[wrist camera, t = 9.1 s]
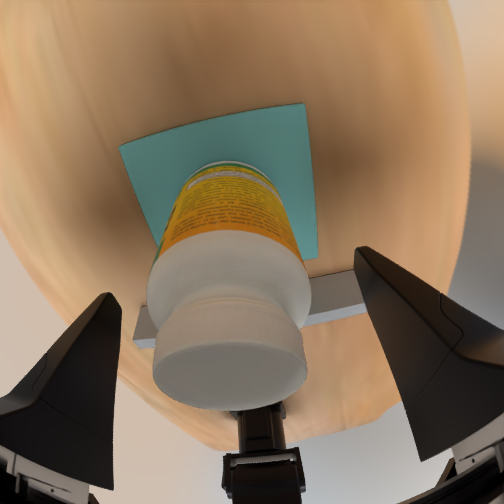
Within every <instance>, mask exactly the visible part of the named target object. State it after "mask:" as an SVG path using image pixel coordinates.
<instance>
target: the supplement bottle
mask: <svg viewBox="0 0 504 504" xmlns="http://www.w3.org/2000/svg"><path fill="white" fill-rule="evenodd" d="M146 301H147V307H148V311H149V314H150V316H151V319H152V321H153V323H154V324H155V326H156V328H157V329H158V330H159V331H158V333H157V336H156V341H155V352H154V360H153V379H154V381H155V383H156V385H157V386H158V388H159V389H160V390H161V391H162V392H163V393H165V394H166V395H168V396H169V397H171V398H173V399H174V400H177V401H179V402H181V403H184V404H187V405H190V406H193V407H197V408H202V409H209V410H219V411H239V410H248V409H255V408H259V407H263V406H267V405H270V404H273V403H277V402H279V401H281V400H284V399H285V398H287V397H289V396H291V395H292V394H293V393H295V392H296V391H297V390H298V389H299V388H300V387H301V386H302V385H303V383H304V382H305V380H306V377H307V363H306V358H305V353H304V348H303V339H302V334H301V332H300V329H301V328H302V326H303V324H304V322H305V321H306V318H307V316H308V313H309V310H310V305H311V286H310V281H309V278H308V274H307V271H306V268H305V265H304V263H303V260H302V257H301V254H300V251H299V248H298V245H297V242H296V240H295V237H294V234H293V231H292V228H291V225H290V222H289V220H288V217H287V214H286V211H285V208H284V206H283V203H282V200H281V197H280V195H279V192H278V190H277V188H276V187H275V185H274V184H273V182H272V181H271V180H270V179H269V178H268V177H267V176H266V175H265V174H264V173H262V172H261V171H260V170H258V169H257V168H255V167H253V166H251V165H248V164H246V163H242V162H236V161H221V162H215V163H211V164H208V165H206V166H204V167H202V168H200V169H199V170H197V171H196V172H195V173H193V174H192V175H191V176H190V177H189V178H188V179H187V180H186V182H185V183H184V184H183V186H182V187H181V189H180V191H179V193H178V196H177V198H176V201H175V203H174V205H173V209H172V211H171V214H170V216H169V219H168V221H167V225H166V228H165V231H164V233H163V236H162V239H161V242H160V245H159V247H158V250H157V253H156V256H155V259H154V262H153V265H152V268H151V271H150V274H149V278H148V283H147V289H146Z"/></svg>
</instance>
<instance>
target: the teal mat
mask: <svg viewBox="0 0 504 504" xmlns="http://www.w3.org/2000/svg"><path fill="white" fill-rule="evenodd" d="M119 150H120V153H121V156H122V159H123V162H124V165H125V167H126V170H127V173H128V176H129V178H130V181H131V184H132V186H133V189H134V192H135V194H136V197H137V199H138V202H139V204H140V207H141V209H142V212H143V214H144V217H145V219H146V221H147V224H148V226H149V229H150V231H151V233H152V236H153V238H154V240H155V242H156V245H157V247H159V245H160V242H161V239H162V236H163V233H164V231H165V228H166V225H167V221H168V219H169V216H170V214H171V211H172V209H173V205H174V203H175V201H176V198H177V196H178V193H179V191H180V189H181V187H182V186H183V184H184V183H185V182H186V180H187V179H188V178H189V177H190V176H191V175H192V174H193V173H195V172H196V171H197V170H199V169H200V168H202V167H204V166H206V165H208V164H211V163H215V162H221V161H236V162H242V163H246V164H248V165H251V166H253V167H255V168H257V169H258V170H260V171H261V172H262V173H264V174H265V175H266V176H267V177H268V178H269V179H270V180H271V181H272V182H273V184H274V185H275V187H276V188H277V190H278V192H279V195H280V197H281V200H282V203H283V206H284V208H285V211H286V214H287V217H288V220H289V222H290V225H291V228H292V231H293V234H294V237H295V240H296V242H297V245H298V248H299V251H300V254H301V257H302V260H308V259H313V258H318V242H317V224H316V208H315V194H314V182H313V171H312V160H311V150H310V141H309V133H308V124H307V116H306V109H305V104H304V103H298V104H290V105H282V106H275V107H268V108H262V109H256V110H250V111H245V112H239V113H234V114H229V115H225V116H220V117H215V118H211V119H207V120H203V121H199V122H195V123H191V124H187V125H183V126H179V127H176V128H172V129H169V130H165V131H162V132H159V133H155V134H152V135H149V136H146V137H143V138H140V139H137V140H134V141H131V142H128V143H125V144H123V145H121V146H119Z"/></svg>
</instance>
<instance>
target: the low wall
mask: <svg viewBox="0 0 504 504" xmlns="http://www.w3.org/2000/svg"><path fill="white" fill-rule="evenodd" d="M309 281H310V286H311V305H310V310H309V313H308V316H307V318H306V321H305V322H304V324H303V326H302V327H304V326H309V325H314V324H319V323H323V322H328V321H332V320H337V319H341V318H345V317H350V316H354V315H358V314H362V313H366V312H367V309H366V306H365V303H364V300H363V297H362V294H361V291H360V287H359V284H358V281H357V278H356V275H355V272H354V270H350V271H345V272H340V273H335V274H331V275H326V276H321V277H316V278H311V279H309ZM158 331H159V330H158V329H157V328H156V326H155V324H154V323H153V321H152V319H151V316H150V314H149V311H148V307H147V306H144V307H141V309H140V313H139V316H138V320H137V324H136V328H135V332H134V336H133V341H134V343H135V344H136V345H137V346H138V348H139V349H143V348H155V341H156V336H157V333H158Z"/></svg>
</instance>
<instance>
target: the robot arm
mask: <svg viewBox="0 0 504 504" xmlns="http://www.w3.org/2000/svg"><path fill="white" fill-rule="evenodd" d="M354 272H355V275H356V278H357V281H358V284H359V287H360V291H361V294H362V297H363V300H364V303H365V306H366V309H367V312H368V314H369V317H370V319H371V321H372V324H373V326H374V328H375V331H376V333H377V335H378V338H379V340H380V343H381V345H382V348H383V350H384V353H385V355H386V358H387V360H388V363H389V366H390V368H391V371H392V374H393V376H394V379H395V382H396V385H397V387H398V390H399V393H400V396H401V399H402V402H403V404H404V408H405V410H406V414H407V417H408V420H409V424H410V427H411V430H412V433H413V437H414V440H415V443H416V447H417V451H418V454H419V458H420V461H421V462H422V461H425V460H427V459H429V458H431V457H434V456H436V455H438V454H440V453H441V452H443V451H445V450H447V449H449V448H452V452H453V455H454V457H453V458H451V459H449V461H448V463H447V466H446V468H445V470H444V472H443V473H442V475H441V477H440V479H439V481H438V483H437V485H436V486H435V487H434V488H432V489H430V490H428V491H426V492H424V493H422V494H419V495H417V496H415V497H412V498H410V499H408V500H405V501H403V502H400V503H398V504H504V330H502V329H500V328H498V327H496V326H494V325H493V324H491V323H489V322H488V321H486V320H484V319H483V318H481V317H479V316H478V315H476V314H474V313H472V312H471V311H469V310H467V309H465V308H464V307H462V306H461V305H459V304H458V303H456V302H455V301H453V300H452V299H450V298H448V297H447V296H446V295H444V294H443V293H440V292H439V291H438V290H437V289H435V288H434V287H432V286H430V285H429V284H427V283H426V282H424V281H423V280H421V279H420V278H418V277H417V276H415V275H414V274H412V273H410V272H409V271H407V270H406V269H404V268H403V267H401V266H399V265H398V264H396V263H394V262H393V261H391V260H390V259H388V258H386V257H385V256H383V255H381V254H380V253H378V252H376V251H375V250H373V249H371V248H370V247H368V246H361V247H357V248H356V249H355V253H354ZM121 320H122V309H121V306H120V305H119V303H118V302H117V300H116V299H115V297H114V296H113V294H112V293H110V292H107V293H102V294H100V295H99V296H98V297H97V298H96V299H95V300H94V301H93V302H92V303H91V304H90V305H89V306H88V307H87V308H86V309H85V311H84V312H83V313H82V314H81V315H80V316H79V317H78V318H77V319H76V320H75V321H74V322H73V323H72V324H71V325H70V326H69V328H68V329H67V330H66V331H65V332H64V333H63V334H62V335H61V336H60V337H59V339H58V340H57V341H56V342H55V343H54V344H53V345H52V346H51V348H50V349H49V350H48V351H47V353H45V354H44V355H43V357H42V358H41V359H40V360H39V361H38V362H37V364H36V365H35V366H34V367H33V368H32V369H31V370H30V371H29V372H28V374H27V375H26V376H25V377H24V378H23V379H22V380H21V381H20V382H19V383H18V384H17V385H16V386H15V387H14V388H13V390H12V391H11V392H10V393H9V394H7V395H5V396H4V397H1V398H0V504H99V502H98V501H97V500H96V498H95V497H94V495H93V494H91V493H89V484H90V485H94V486H97V487H100V488H104V489H108V490H112V491H113V490H114V480H113V420H114V403H115V389H116V379H117V369H118V360H119V352H120V341H121ZM230 413H231V414H232V415H233V416H234V418H235V419H236V420H237V421H238V439H239V454H231V453H226V455H225V456H223V477H222V488H223V489H224V490H225V491H226V493H227V496H228V498H229V499H232V502H233V504H302V500H301V493H303V492H305V491H306V489H305V488H306V487H305V477H304V472H303V466H302V462H301V456H300V451H299V447H294V448H291V449H286V443H285V435H284V428H283V420H282V419H285V418H286V415H285V411H284V407H283V403H282V401H279V402H277V403H273V404H270V405H267V406H263V407H259V408H255V409H248V410H239V411H230ZM291 458H293V461H290V459H291ZM284 459H287V460H284ZM276 460H279V461H276ZM266 461H270V462H266ZM254 462H259V463H254ZM237 463H245V464H237ZM236 464H237V465H236Z"/></svg>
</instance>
